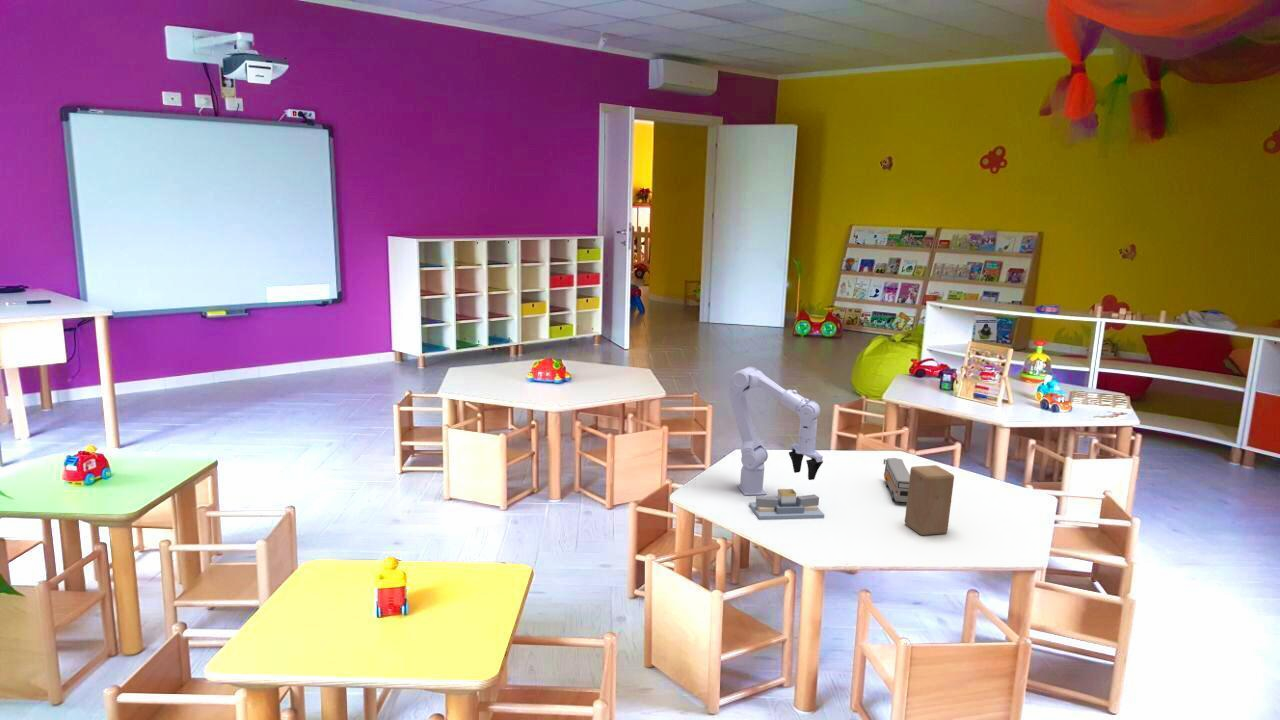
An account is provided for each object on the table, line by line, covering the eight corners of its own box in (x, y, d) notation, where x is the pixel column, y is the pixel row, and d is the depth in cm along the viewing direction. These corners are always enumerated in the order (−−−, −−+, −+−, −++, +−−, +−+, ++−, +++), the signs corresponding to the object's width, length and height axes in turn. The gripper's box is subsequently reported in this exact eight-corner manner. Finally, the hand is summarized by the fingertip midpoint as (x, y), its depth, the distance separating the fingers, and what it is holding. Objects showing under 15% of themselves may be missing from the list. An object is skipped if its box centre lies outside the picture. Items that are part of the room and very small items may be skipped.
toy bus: (900, 481, 315) (902, 456, 312) (913, 507, 290) (916, 480, 288) (881, 480, 315) (884, 454, 313) (893, 506, 291) (896, 478, 288)
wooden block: (920, 536, 266) (927, 476, 262) (903, 524, 275) (909, 465, 271) (948, 534, 268) (955, 474, 264) (929, 521, 278) (936, 464, 274)
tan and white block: (791, 505, 283) (792, 489, 282) (795, 510, 280) (796, 493, 278) (776, 506, 283) (778, 489, 281) (780, 510, 279) (781, 493, 277)
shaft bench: (749, 505, 285) (750, 491, 284) (811, 504, 289) (812, 489, 288) (759, 519, 274) (760, 504, 273) (824, 517, 277) (825, 503, 276)
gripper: (784, 432, 289) (781, 470, 292) (812, 445, 276) (808, 484, 279) (800, 430, 292) (797, 467, 295) (828, 442, 280) (825, 481, 283)
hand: (804, 475), depth 287 cm, fingers open, 7 cm apart
